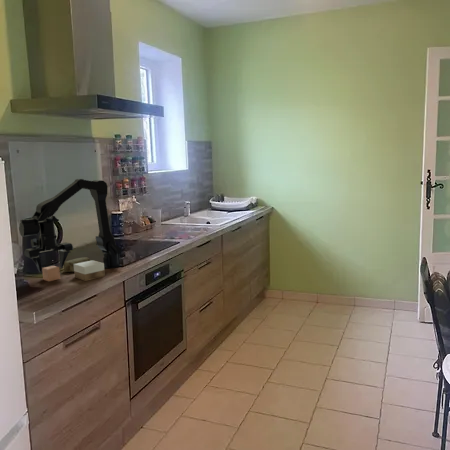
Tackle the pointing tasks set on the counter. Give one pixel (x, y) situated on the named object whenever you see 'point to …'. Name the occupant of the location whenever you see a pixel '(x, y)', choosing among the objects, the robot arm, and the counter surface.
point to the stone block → (70, 264)
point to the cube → (51, 273)
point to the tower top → (89, 267)
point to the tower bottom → (89, 275)
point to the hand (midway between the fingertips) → (51, 269)
